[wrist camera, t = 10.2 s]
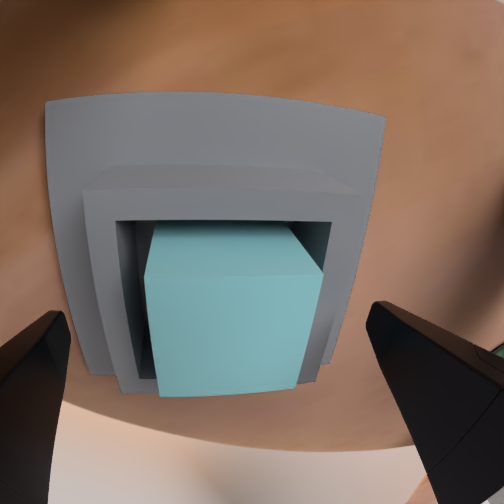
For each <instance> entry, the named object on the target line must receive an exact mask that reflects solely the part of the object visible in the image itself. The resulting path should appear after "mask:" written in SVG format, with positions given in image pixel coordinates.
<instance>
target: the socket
mask: <svg viewBox="0 0 504 504" xmlns="http://www.w3.org/2000/svg"><path fill="white" fill-rule="evenodd" d="M385 122H386V117H385V116H381V115H377V114H372V113H368V112H363V111H359V110H354V109H349V108H343V107H338V106H332V105H327V104H321V103H314V102H308V101H301V100H294V99H286V98H277V97H268V96H258V95H246V94H233V93H215V92H133V93H116V94H103V95H92V96H82V97H73V98H65V99H58V100H51V101H45V145H46V166H47V179H48V190H49V200H50V209H51V216H52V224H53V230H54V237H55V243H56V249H57V254H58V259H59V264H60V269H61V274H62V279H63V283H64V288H65V292H66V296H67V300H68V304H69V308H70V312H71V316H72V319H73V323H74V326H75V330H76V333H77V337H78V340H79V343H80V346H81V349H82V353H83V356H84V359H85V362H86V364H87V367H88V370H89V373H90V374H91V375H110V376H116V377H117V381H118V384H119V387H120V390H121V393H159V388H158V382H157V376H156V370H155V364H154V358H153V351H152V344H151V336H150V329H149V321H148V312H147V303H146V293H145V283H144V275H145V270H146V265H147V260H148V255H149V251H150V246H151V242H152V237H153V233H154V229H155V225H156V220H275V221H284V223H285V224H286V225H287V226H288V228H289V229H290V230H291V232H292V233H293V234H294V236H295V237H296V238H297V239H298V241H299V242H300V243H301V245H302V246H303V247H304V249H305V250H306V251H307V253H308V254H309V255H310V256H311V258H312V259H313V260H314V262H315V263H316V264H317V266H318V267H319V268H320V270H321V271H322V272H323V274H324V276H323V280H322V285H321V289H320V294H319V298H318V302H317V306H316V311H315V315H314V319H313V323H312V327H311V331H310V335H309V339H308V343H307V347H306V351H305V354H304V358H303V362H302V366H301V369H300V373H299V377H298V380H297V384H302V383H309V382H315V380H316V377H317V374H318V371H319V368H320V365H324V364H329V363H330V360H331V357H332V354H333V351H334V348H335V345H336V342H337V338H338V335H339V332H340V329H341V325H342V322H343V319H344V315H345V312H346V308H347V305H348V301H349V298H350V294H351V290H352V287H353V283H354V279H355V275H356V271H357V268H358V264H359V259H360V255H361V251H362V247H363V243H364V238H365V234H366V230H367V225H368V220H369V216H370V211H371V206H372V201H373V196H374V191H375V185H376V180H377V174H378V168H379V162H380V156H381V150H382V143H383V136H384V129H385Z"/></svg>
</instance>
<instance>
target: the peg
mask: <svg viewBox="0 0 504 504" xmlns="http://www.w3.org/2000/svg"><path fill="white" fill-rule="evenodd" d="M323 276H324V274H323V272H322V271H321V270H320V268H319V267H318V266H317V264H316V263H315V262H314V260H313V259H312V258H311V256H310V255H309V254H308V253H307V251H306V250H305V249H304V247H303V246H302V245H301V243H300V242H299V241H298V239H297V238H296V237H295V236H294V234H293V233H292V232H291V230H290V229H289V228H288V226H287V225H286V224H285V223H284V221H275V220H156V225H155V229H154V233H153V237H152V242H151V246H150V251H149V255H148V260H147V265H146V270H145V275H144V283H145V293H146V303H147V312H148V321H149V329H150V336H151V344H152V351H153V358H154V364H155V370H156V376H157V382H158V388H159V394H160V397H195V396H218V395H234V394H247V393H258V392H268V391H277V390H285V389H293V388H295V387H296V384H297V380H298V377H299V373H300V369H301V366H302V362H303V358H304V354H305V351H306V347H307V343H308V339H309V335H310V331H311V327H312V323H313V319H314V315H315V311H316V306H317V302H318V298H319V294H320V289H321V285H322V280H323Z"/></svg>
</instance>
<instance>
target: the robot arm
mask: <svg viewBox="0 0 504 504" xmlns="http://www.w3.org/2000/svg"><path fill="white" fill-rule="evenodd" d="M366 330H367V333H368V336H369V338H370V341H371V344H372V347H373V349H374V352H375V355H376V358H377V361H378V363H379V366H380V368H381V371H382V373H383V375H384V377H385V379H386V381H387V383H388V386H389V388H390V390H391V392H392V394H393V396H394V399H395V401H396V403H397V405H398V407H399V410H400V412H401V414H402V416H403V419H404V421H405V423H406V425H407V428H408V430H409V432H410V434H411V437H412V439H413V441H414V444H415V446H416V448H417V451H418V453H419V456H420V458H421V460H422V463H423V465H424V468H425V470H426V473H428V474H427V476H428V478H429V481H430V483H431V486H432V489H433V491H434V494H435V496H436V499H437V502H438V504H481V503H483V502H484V501H486V500H487V499H488V501H489V503H490V504H504V358H502V357H500V356H498V355H496V354H494V353H491V352H489V351H487V350H485V349H483V348H481V347H479V346H477V345H475V344H474V345H473V343H471V342H469V341H467V340H465V339H463V338H461V337H459V336H457V335H455V334H453V333H451V332H449V331H447V330H445V329H443V328H441V327H439V326H437V325H435V324H433V323H430V322H428V321H426V320H424V319H422V318H420V317H418V316H416V315H414V314H412V313H410V312H408V311H406V310H404V309H402V308H400V307H398V306H396V305H394V304H392V303H389V302H387V301H376V302H374V303H373V304H372V306H371V309H370V312H369V315H368V318H367V321H366ZM70 344H71V334H70V331H69V328H68V324H67V321H66V317H65V314H64V313H63V312H62V311H55V310H50V311H48V312H47V313H46V314H44V315H43V316H41V317H40V318H39V319H37V320H36V321H35V322H33V323H32V324H30V325H29V326H28V327H26V328H25V329H24V330H22V331H21V332H20V333H18V334H17V335H16V336H14V337H13V338H12V339H10V340H9V341H8V342H6V343H5V344H4V345H3V346H1V347H0V504H48V492H49V481H50V471H51V463H52V456H53V448H54V442H55V435H56V429H57V424H58V418H59V413H60V407H61V403H62V398H63V393H64V388H65V382H66V374H67V365H68V358H69V351H70Z"/></svg>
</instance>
